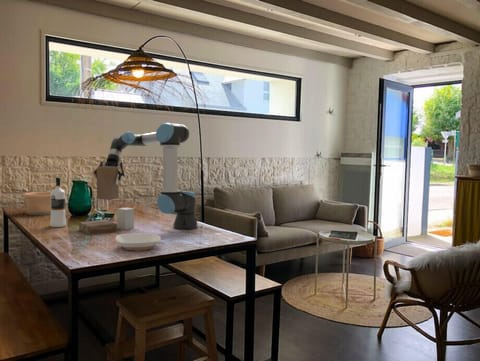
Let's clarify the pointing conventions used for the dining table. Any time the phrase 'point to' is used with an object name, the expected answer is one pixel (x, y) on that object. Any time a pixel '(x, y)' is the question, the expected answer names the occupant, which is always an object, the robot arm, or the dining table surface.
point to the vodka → (58, 206)
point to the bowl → (138, 240)
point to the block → (107, 182)
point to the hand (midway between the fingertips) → (106, 183)
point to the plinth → (97, 227)
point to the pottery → (38, 203)
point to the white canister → (125, 218)
